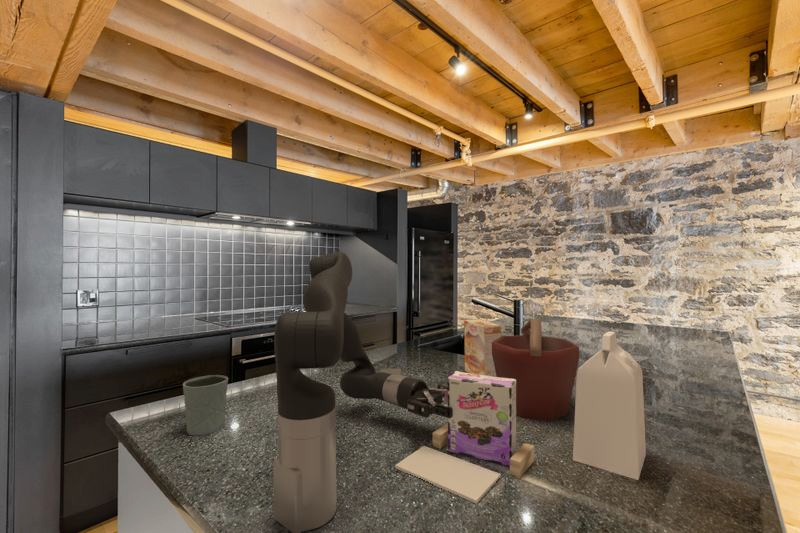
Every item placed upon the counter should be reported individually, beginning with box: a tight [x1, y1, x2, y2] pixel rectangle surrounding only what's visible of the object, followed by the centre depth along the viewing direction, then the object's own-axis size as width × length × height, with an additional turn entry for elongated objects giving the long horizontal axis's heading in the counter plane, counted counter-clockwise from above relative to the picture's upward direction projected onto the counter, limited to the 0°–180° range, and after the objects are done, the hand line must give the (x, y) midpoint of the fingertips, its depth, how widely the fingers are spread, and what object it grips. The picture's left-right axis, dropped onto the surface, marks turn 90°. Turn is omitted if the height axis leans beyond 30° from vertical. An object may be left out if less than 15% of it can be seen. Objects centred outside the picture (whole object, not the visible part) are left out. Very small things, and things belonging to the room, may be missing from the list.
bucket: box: [492, 317, 580, 422], centre depth 104 cm, size 24×22×25 cm
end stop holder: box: [432, 422, 535, 479], centre depth 80 cm, size 8×20×3 cm, turn 51°
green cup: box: [182, 374, 229, 436], centre depth 94 cm, size 10×10×12 cm
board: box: [394, 445, 502, 505], centre depth 72 cm, size 10×18×1 cm, turn 51°
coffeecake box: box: [463, 318, 502, 377], centre depth 135 cm, size 15×7×20 cm, turn 17°
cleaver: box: [379, 368, 402, 375], centre depth 129 cm, size 30×10×2 cm, turn 179°
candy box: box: [447, 370, 517, 467], centre depth 80 cm, size 14×6×16 cm, turn 62°
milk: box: [572, 330, 647, 481], centre depth 77 cm, size 12×12×26 cm
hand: (461, 407), depth 83 cm, fingers open, 8 cm apart
